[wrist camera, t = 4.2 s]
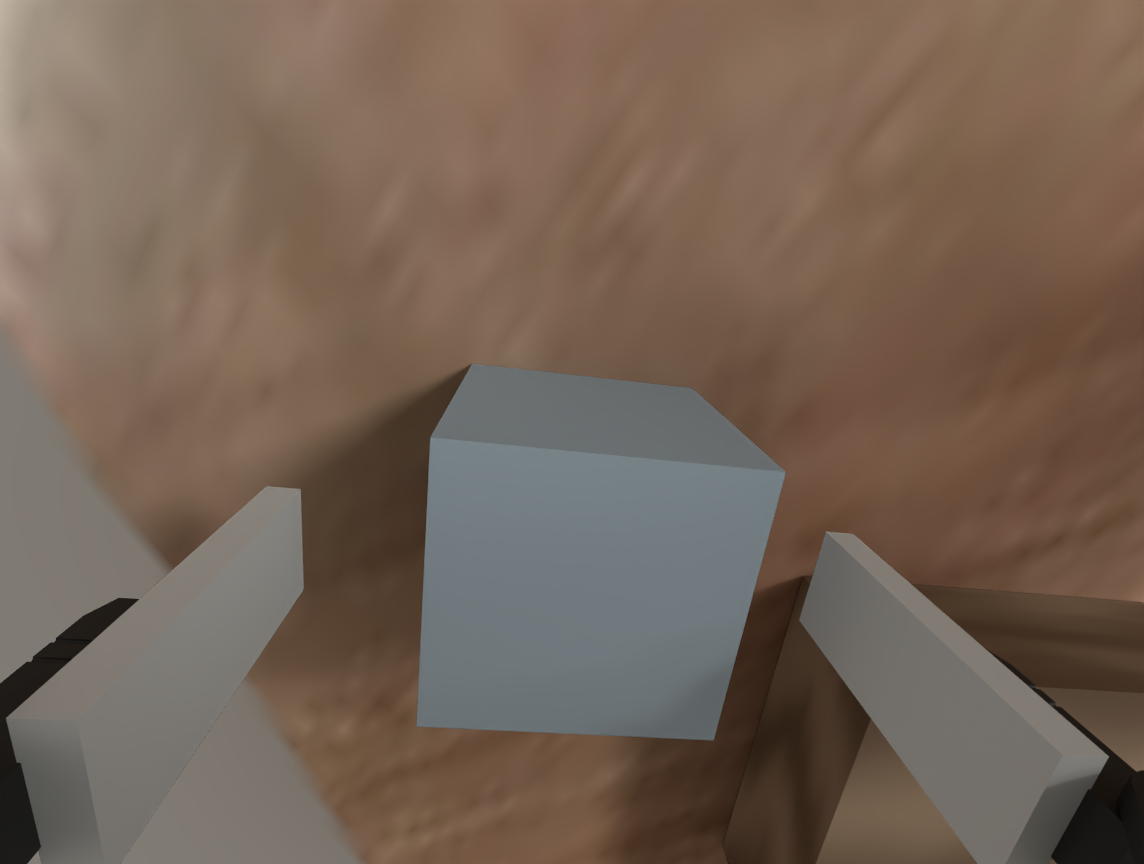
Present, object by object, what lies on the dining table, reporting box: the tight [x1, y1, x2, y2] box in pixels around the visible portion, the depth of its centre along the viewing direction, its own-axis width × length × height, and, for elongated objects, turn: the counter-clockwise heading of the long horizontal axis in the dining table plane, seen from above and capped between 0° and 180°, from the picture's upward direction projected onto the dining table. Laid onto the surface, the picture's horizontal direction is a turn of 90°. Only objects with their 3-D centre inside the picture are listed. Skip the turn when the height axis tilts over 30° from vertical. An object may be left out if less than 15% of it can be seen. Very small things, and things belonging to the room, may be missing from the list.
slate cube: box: [417, 364, 786, 740], centre depth 15 cm, size 7×7×7 cm
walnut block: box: [723, 576, 1144, 864], centre depth 20 cm, size 14×14×5 cm
